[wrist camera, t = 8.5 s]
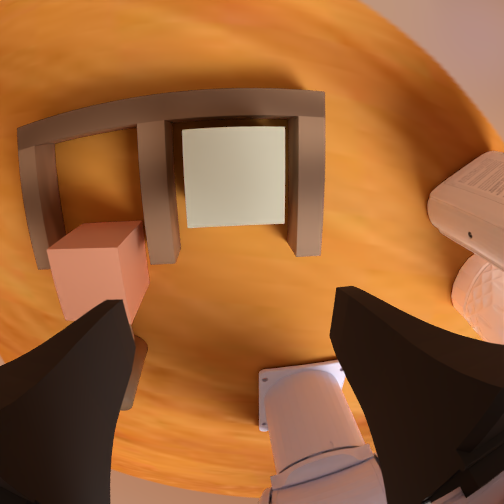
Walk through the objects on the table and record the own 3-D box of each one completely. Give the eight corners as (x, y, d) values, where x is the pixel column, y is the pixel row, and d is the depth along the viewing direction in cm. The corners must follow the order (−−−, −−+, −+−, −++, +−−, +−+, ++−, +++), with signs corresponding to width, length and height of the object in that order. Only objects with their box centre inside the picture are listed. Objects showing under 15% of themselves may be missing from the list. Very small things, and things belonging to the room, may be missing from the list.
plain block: (268, 201, 18) (284, 223, 14) (196, 204, 18) (187, 228, 13) (268, 130, 17) (284, 126, 12) (193, 133, 16) (181, 129, 12)
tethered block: (163, 356, 22) (151, 413, 16) (113, 354, 21) (93, 406, 16) (142, 220, 18) (110, 255, 12) (82, 223, 17) (37, 256, 12)
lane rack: (309, 241, 19) (320, 255, 17) (54, 255, 18) (38, 269, 15) (311, 97, 16) (324, 91, 14) (37, 127, 14) (17, 128, 12)
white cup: (436, 318, 24) (495, 382, 15) (460, 243, 21) (539, 294, 12) (480, 310, 25) (533, 359, 15) (501, 245, 22) (567, 286, 13)
